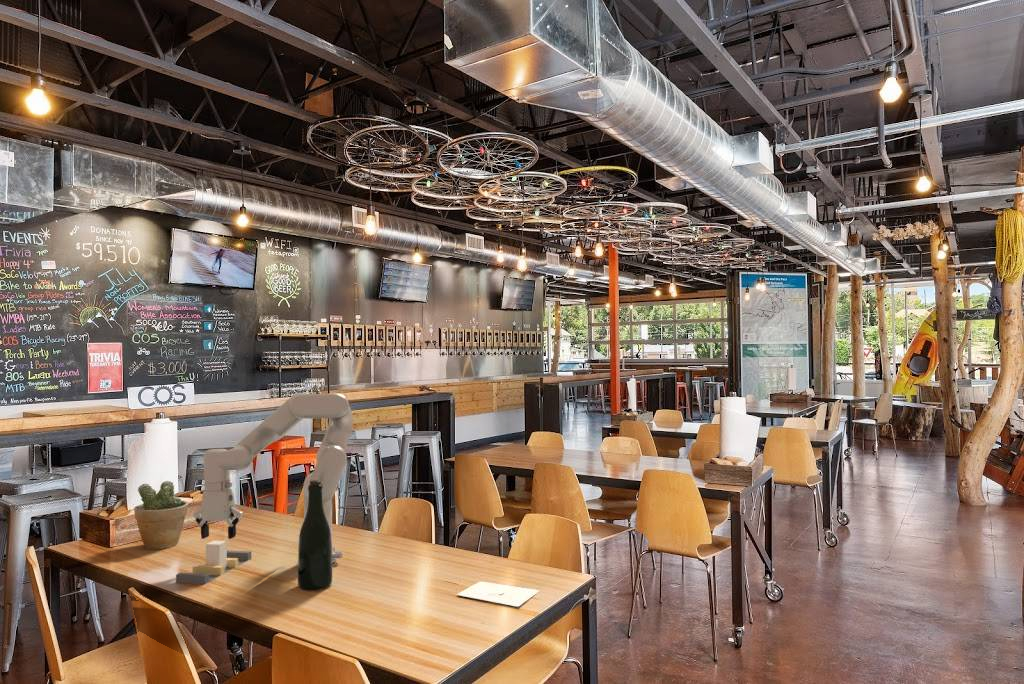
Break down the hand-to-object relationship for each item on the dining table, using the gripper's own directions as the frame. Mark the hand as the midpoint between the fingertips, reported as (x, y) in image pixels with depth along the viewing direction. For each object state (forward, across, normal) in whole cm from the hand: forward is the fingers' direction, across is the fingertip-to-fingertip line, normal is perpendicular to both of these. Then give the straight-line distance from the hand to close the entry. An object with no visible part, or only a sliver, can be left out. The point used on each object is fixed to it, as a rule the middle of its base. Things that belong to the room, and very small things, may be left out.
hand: (218, 537), depth 212 cm
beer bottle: (+13, -37, +7) cm, 40 cm away
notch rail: (+12, +1, +1) cm, 12 cm away
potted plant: (+12, +43, -28) cm, 53 cm away
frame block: (+10, +1, +1) cm, 11 cm away
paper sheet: (+16, -98, +1) cm, 99 cm away
